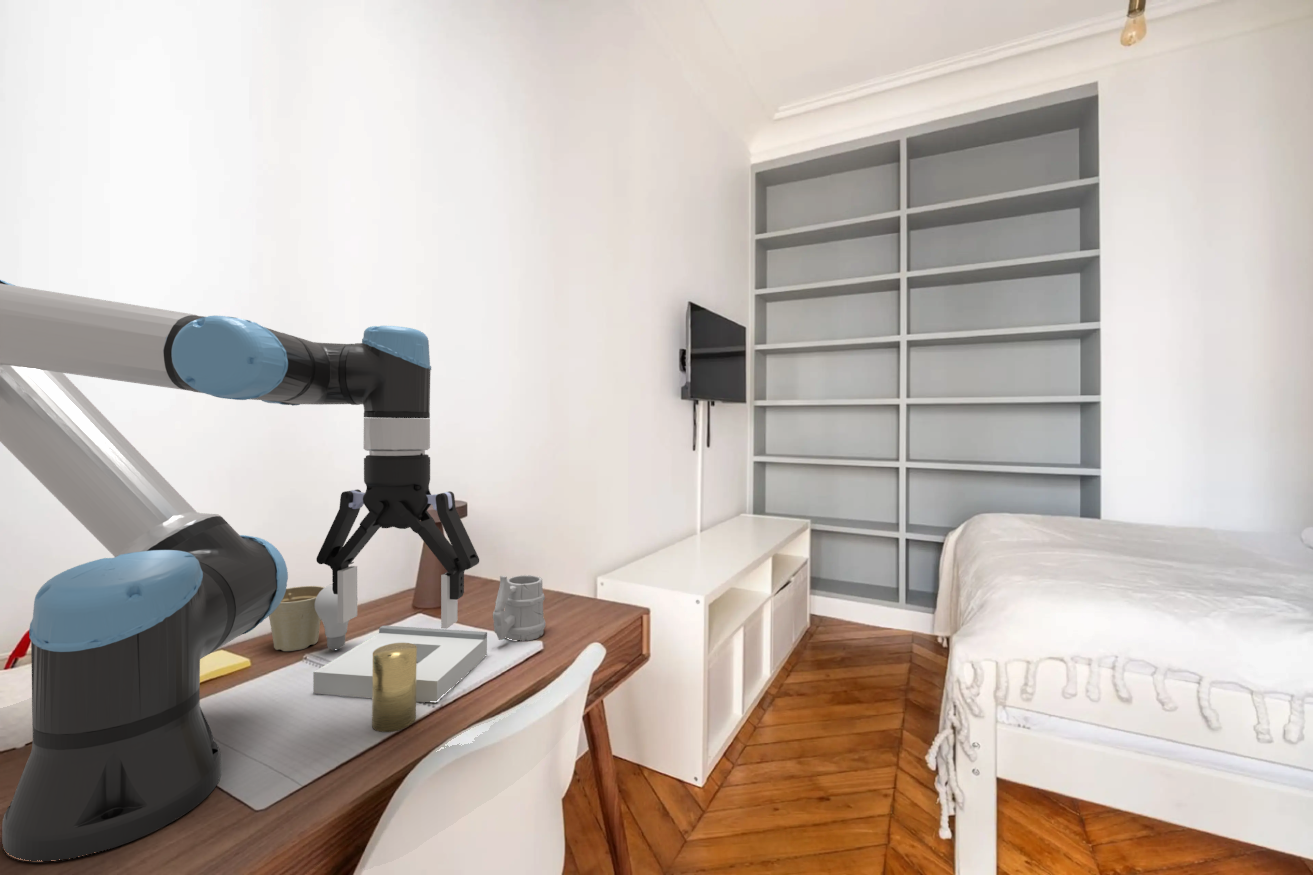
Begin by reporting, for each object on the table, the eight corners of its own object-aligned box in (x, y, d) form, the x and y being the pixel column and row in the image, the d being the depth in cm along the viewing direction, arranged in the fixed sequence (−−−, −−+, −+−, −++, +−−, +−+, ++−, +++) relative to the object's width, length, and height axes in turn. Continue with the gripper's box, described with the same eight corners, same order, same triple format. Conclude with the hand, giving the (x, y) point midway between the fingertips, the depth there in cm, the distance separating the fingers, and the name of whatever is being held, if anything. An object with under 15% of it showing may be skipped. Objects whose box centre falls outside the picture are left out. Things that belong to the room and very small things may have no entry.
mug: (553, 630, 102) (554, 565, 102) (513, 653, 91) (514, 581, 91) (519, 623, 105) (519, 560, 105) (476, 646, 94) (477, 575, 94)
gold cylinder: (401, 733, 67) (402, 659, 67) (363, 730, 68) (363, 657, 68) (423, 712, 72) (424, 643, 72) (387, 709, 73) (388, 641, 73)
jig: (437, 703, 75) (437, 675, 75) (313, 693, 77) (313, 666, 77) (486, 655, 91) (487, 631, 90) (383, 647, 93) (383, 625, 93)
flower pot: (274, 661, 87) (274, 606, 87) (252, 646, 92) (253, 594, 92) (338, 643, 94) (338, 592, 94) (314, 630, 100) (315, 582, 100)
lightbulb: (337, 659, 88) (338, 590, 88) (304, 655, 89) (305, 587, 89) (365, 644, 94) (366, 579, 94) (334, 641, 95) (334, 577, 95)
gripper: (505, 452, 72) (505, 616, 72) (326, 450, 75) (327, 607, 75) (480, 455, 64) (480, 638, 65) (282, 453, 67) (283, 627, 68)
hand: (398, 622), depth 70 cm, fingers open, 13 cm apart
